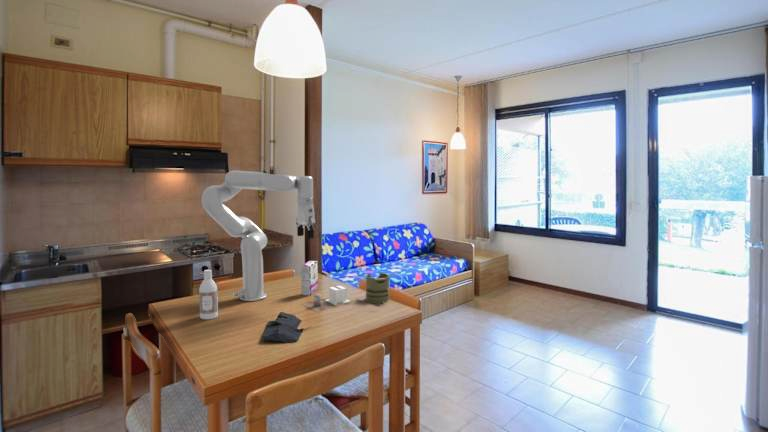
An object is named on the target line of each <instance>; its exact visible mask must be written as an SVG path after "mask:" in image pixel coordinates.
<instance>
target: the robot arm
mask: <svg viewBox="0 0 768 432" xmlns="http://www.w3.org/2000/svg"><path fill="white" fill-rule="evenodd" d="M313 179H314V178H313V177H312V176H310V175H302V176H301V175H300V176H297V175H290V174H289V175H288V174H273V173H264V172H262V171H251V170H250V171H247V170H237V169H236V170H230V171H228V172H227V173H226V174H225V177H224V182H223V183H221V184H219V185H218V184H217V185H216V184H215V185H210V186H207V187H206V188H205V189H204V190H203V192H202V195H201V205H202V207H203V210H205V212H206V213H207V214H208V215H209V216H210V218H212V219H213V220H214V221H215V222H216V223H217V224H218V225H219V226H220V227H221V228H222V229H223V230H225V232H226V233H227V234H228V235H229V236H230V237H233V238H239V237H240V238H241V241H240V252H241V260H242V261H241V263H242V265H241V266H242V288H241V289H240V290H239V291H235V292H232V296H233V298H234V297H239V299H240V300H241V301H244V302H245V301H246V302H255V301H256V302H257V301H262V300H265V299H266V298H267V297H268V295H267V292H264V258H263V251H262V250H263V249H264V248H265V247H266V246H267V244H268V237H267V235H266V233H264V231H262V230H261V228H259V227H258V226H257V224H255V223H254V222H253V221H252V220H251V219H250V218H248V217H246V216H238V215H236V214H235V212H233V211H232V209H230V208H229V207H228V206H227V205H225V204H224V203H226V202H229V200H231V199H233V197H235V196H236V195H237V194H239V193H240V192H241V191H242V190H244V189H245V190H253V191H255V190H256V191H257V190H258V191H274V192H294V191H296V200H297V201H296V203H297V210H296V218H295V222H296V228H297V229H296V232H297V235H296V236H297V237H302V236H303V237H304V236H305V235H304V233H305V229H304V226H305V227H307V230H306V236H307V237H306V238H307V239H314V234H315V233H314V232H315V231H314V230H315V227H316V217H315V214H316V213H315V208H314V180H313Z"/></svg>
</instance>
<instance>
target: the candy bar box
mask: <svg viewBox="0 0 768 432" xmlns="http://www.w3.org/2000/svg"><path fill="white" fill-rule="evenodd" d="M318 265H319V263H318V260H308V261H307V262H305V263H303V264H302V265H301V266H300V267H301V270H300V271H301V296H312V295H313V294H316V292H319V272H318V271H319V270H318Z"/></svg>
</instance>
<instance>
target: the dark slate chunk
mask: <svg viewBox="0 0 768 432" xmlns="http://www.w3.org/2000/svg"><path fill="white" fill-rule="evenodd" d="M301 323H302V319H300V318H299V317H297V316H296V315H294V314H291V313H286V312H283V311H281V312H279V314H277V317H276V318H275V319H274V320H269V321H268V322H266V326H265V328H264V330H263V335H262V336H261V337H262V340H263V341H266V342H271V341H272V342H280V343H282V342H283V343H297V342H298V341H299V339H300V338H301V335H302V334H303V331H304V330H305V329H304V328H299V329H298V327H299V326H300V325H301Z"/></svg>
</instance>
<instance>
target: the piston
mask: <svg viewBox="0 0 768 432" xmlns="http://www.w3.org/2000/svg"><path fill="white" fill-rule="evenodd" d="M365 288H366V289H365V301H366V300H367V302H368V303H371V302H372V303H371V304H383V302H385V303H387V302H389V301H390V289H389V288H390V274H388V273H385V272H380V273H379V276H378V277H372V276H371V274H370V273H367V274H366V275H365ZM388 300H389V301H388Z"/></svg>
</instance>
